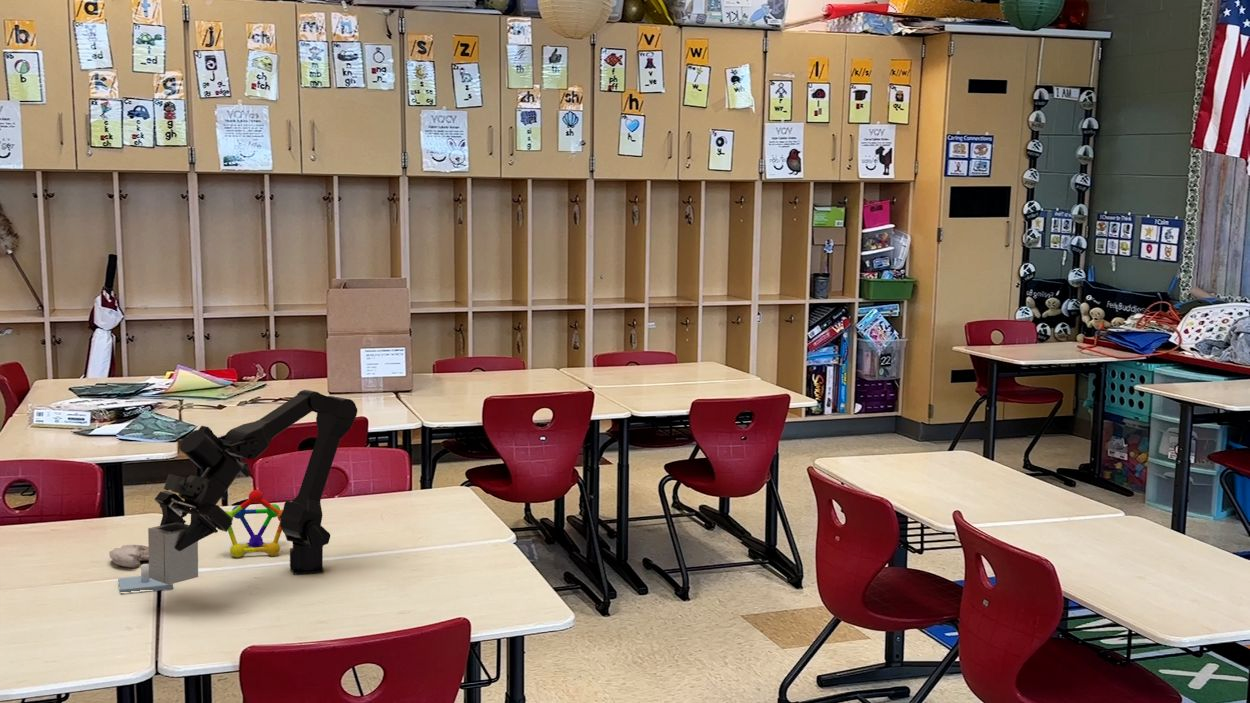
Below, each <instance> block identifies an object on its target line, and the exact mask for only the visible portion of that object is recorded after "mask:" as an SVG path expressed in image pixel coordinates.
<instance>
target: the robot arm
mask: <svg viewBox="0 0 1250 703" xmlns="http://www.w3.org/2000/svg"><path fill="white" fill-rule="evenodd" d="M313 412H314V413H316V417H315V420H316V426H317V436H316V439H315V442H314V445H313V448H312V452H311V454H310V457H309V460H308V464H307V468H306V470H305V473H304V476H303V479H302V481H301V482H302V483H301V485H300V488H299V492H298V493H297V496H296V497H294V498H293V500H292V501H290V500H287V499H286V500H285V502H284V504H283V512H282V514H281V516H280V517H279V518H281V523H280V522H279V523H280V527H281V528H282V531H281V532H283V534H284V537H285V539H286V541H287V542H292V547H290V548H289V568H290V570H291V571H292V574H293V575H302V574H303V575H304V574H305V575H306V574H318V573H319V574H321V573H324V572H325V570H324V567H323V565H324V563H323V560H324V557H323V555H324V554H323V553H324V552H323V550H324V549H323V548H324V546H326V545H328V544H329V542H330V539H331V533H330V532H329V531H327V529H326V528H325V527H323V526H322V521H323V510H322V506H321V505H322V504H321V502H322V501H321V500H322V496H323V493H324V490H325V487H326V485H327V481H328V478H329V474H330V472H331V469H332V466H333V463H334V460H335V457H336V454H337V451H338V448H339V444H340V441H341V439H342V438H343V437H344V436H345V435H346V434H347V433H348V432H349V431H350V430H351V428H352V426H353V424H354V421H355V420H356V418H357V415H358V407H357V405H356V403H355V401H354V400H352V399H350V398H344V397H339V396H333V395H325V394H323V393H320V392H319V391H314V390H310V389H303V390H300V391H298V393H297V394H296V395H294V396H293V397H292V398H290V399H289V400H288V401H286V402H284V403H283V404H281V405H280V406H278V407H277V408H275V409H274V410H272V411H271V412H268V414H266V415H264V416H263V417H261V418H260V419H257V420H255V421H252V422H247V423H244V424H241V425H238V426H236V427H233V428H232V429H229V430H228V431H227V432H226V434H224V435H221V436H219V437H218V436H217V435H216V434H215V433H214V432H213V430H212V429H211V428H210V427H208V426H205V425H201V426H200V427H199V428H198V429H197V430H194V431H192V432H191V433H189V434H188V435H186V436H184V437H183V439H182V440H181V443H180V445H179V449H180V451H181V452H182V454H183V455H185V456H186V457H187V458H188V459H189V460H190V461H191V462H193V463H194V464H195V465H196V466H197V467H198V468H199V469H205V471H203V473H202V475H201V476H198V475H192V474H190V475H189V476H188V477H187V478H186V477H183V476H178V475H175V474H171V473H169V474H168V476H167V479H166V481H165V484H164V487H163V489H164V490H163V491H159V493H158V494H156V497H155V498H154V501H155V502H156V503H157V504H159V508H161V512H162V517H161V521H160V524H159V526H161V525H166V524H170V523H175V522H180V523H184V524H186V523H187V520H185V519H184V518H185V517H187V515H188V514H189V515H190V523H189V524H188V525H189V526H188V528H187V530H186V531H185V533H184V534H183V536H182V537H181V539H180V541H179V542H178V544H177V546H176V549H177V550H178V551H181V550H183V549H185V548H186V547H188V546H190V545H192V544H193V543H195V542H197V541H198V542H199V541H200V540H202V539H204V538H206V537H209V536H210V535H212V534H214V533H215V534H216V533H218V532H219V531H221V532H226V533H227V532H228V529H229V528H230V527H231V526H233V521H232V517H230V516H229V515H228V514H227V513H226V512H225V511H226V510H224V509H222V507H221V506H220V505H218V503H219V502H220V501H221V500H227V498H228V496H229V495H228V494H227V493H226V492H227V490H228V489H229V488H230V486H231V485H232V484H233V482H234V481H235V480H236V479H237V477H238V476H242V477H245V478H247V477H250V473H249V472H250V471H249V466H248V463H247V462H243V461H241V462H240V461H239V460H238V459H237V458H236V457H238V458H242V459H246V460H254V459H256V458H258V457H259V456H261V454H263V452H265V451H266V450H267V448H268V447H269V446H270V444H271V442H272V440H273V439H274V438H275V437H276V436H278V435H279V434H280V433H282V432H284V431H285V430H287V429H288V428H289V427H291V426H292V425H294V424H295V423H297V422H299V421H300V420H301V419H303V418H304V417H306V416H307V415H309V414H311V413H313ZM225 452H226V453H227V454H228V455H227V454H226V453H225Z"/></svg>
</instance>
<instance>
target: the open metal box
mask: <svg viewBox="0 0 1250 703" xmlns="http://www.w3.org/2000/svg"><path fill="white" fill-rule="evenodd" d="M189 525H190V524H186V523H180V522H175V523H170V524H166V525H161V526H160V525H157V526H153V527H148V528H147V533H148V534H147V536H148V537H147V539H148V540H147V542H148V543H147V544H148V546H147V547H149V561H148V564H149V578H151V579H153V580H156V581H159V582H162V583H164V584H168V585H170V584H173V585H175V584H177V583H180V582H185V581H188V580H192V579H193V580H194V579H195V578H199V547H198V546H199V541H197V542H195V543H193V544H192V545H190V546H188V547H186V548H185V549H183V550H181V551H178V550H177V549H176V546H177V544H178V542H179V541H180V539H181V537H182V536H183V534H184V533H185V531H186V530H187V528H188V526H189Z"/></svg>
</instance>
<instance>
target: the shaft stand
mask: <svg viewBox="0 0 1250 703" xmlns="http://www.w3.org/2000/svg"><path fill="white" fill-rule="evenodd" d="M117 580H118V581H117V583H118V582H119V584H118V588H119V587H120V589H119V593H120V592H131V591H140V590H153V591H152V592H158V591H167V590H168V591H169V590H173V589H174V584H170V585H168V584H164V583H162V582H159V581H156V580H153V579H151V578H149V563H143V564H140V576H139V575H138V576H129V577H118V578H117Z"/></svg>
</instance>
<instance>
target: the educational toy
mask: <svg viewBox="0 0 1250 703" xmlns="http://www.w3.org/2000/svg"><path fill="white" fill-rule="evenodd" d="M263 496H264V495H263V493H262V492H261V490H258V489H253V490H252V491H250V492H249V494H248V499H247V500H245V501H244V502H243V503H241V504H239V505H235V506H234V507H233V508H232V510H231V511H229V510H224V511H225V512H226V513H227V514H228V515H229V516H230V517H232V522H233V521H234V518H235V519H236V520H240V521H241V523H242V525H243V526H244V528H245V530H246V531H247V532H246V533H248V534H249V540H248V542H247V543H245V544H243V545H242V544H240V543H238V541H237V538H236V536H235V533H234V529H233V525H231V527H230V528H229V529H228V531H227V532H228V535H229V538H230V540H231V545H232V546H231V547H230V549H229V553H230V555H231V556H232V557H233V558H240V557H242V556H243V555H244V554H245V553H261V552H265V553H267V555H269V556H271V557H275V556H277V555H278V554H280V552H281V547H280V544H279V540H280V537H281V534H282V532H283V531H282V528H281V527H280V523H281V518H279V517H280V516H281V514H282V512H283V509H284V508H283V509H281V508H280V506H279V505H278V504H275V503H273V504H271V503H270V502H268V501H267V500H265V499H264V498H263ZM252 504H254V505H255V504H260V505H262V506H263V507H264V508H253V509H252V508H250V509H247V508H248V507H249V506H250V505H252ZM253 514H257V515H259V514H267V517H266V519H265V520H264V522H263V524H262V525H261V528H260V529H259V531H258V532H257V534H255V533H254V531H253V529H252V528H251V526H250V524H249V522H248V520H247V519H246V518H245V516H246V515H253ZM272 518H277V519H278V521H279V523H278V527H277V529H276V533H275V534H274V535H275V536H274V538H273V541H272V542H269V543H266V542H264V540H263V537H262V536H263V535H264V532H265V531H266V530H267V527H268V525H269V523H270V522H271V520H272Z"/></svg>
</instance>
